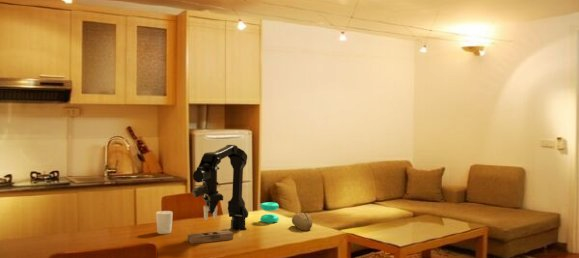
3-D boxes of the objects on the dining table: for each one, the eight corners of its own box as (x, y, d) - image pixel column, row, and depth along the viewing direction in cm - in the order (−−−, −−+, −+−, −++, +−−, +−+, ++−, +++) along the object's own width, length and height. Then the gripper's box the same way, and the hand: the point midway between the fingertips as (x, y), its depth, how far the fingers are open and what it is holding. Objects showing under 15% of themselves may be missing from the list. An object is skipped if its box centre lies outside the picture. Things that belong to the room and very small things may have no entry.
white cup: (168, 234, 246) (168, 214, 246) (153, 233, 248) (153, 213, 247) (175, 231, 254) (175, 211, 253) (160, 230, 255) (160, 210, 255)
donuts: (279, 205, 274) (261, 205, 273) (279, 223, 274) (260, 223, 273) (277, 201, 284) (260, 201, 283) (277, 219, 284) (259, 219, 283)
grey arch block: (203, 218, 236) (203, 205, 236) (215, 217, 239) (215, 205, 238) (205, 219, 234) (205, 206, 234) (217, 218, 237) (217, 205, 236)
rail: (187, 240, 235) (187, 234, 235) (228, 236, 244) (228, 230, 244) (191, 243, 229) (191, 237, 229) (233, 239, 238) (233, 232, 238)
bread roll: (304, 224, 272) (304, 209, 272) (316, 230, 258) (316, 215, 258) (288, 226, 268) (288, 210, 268) (299, 232, 255) (299, 216, 254)
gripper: (188, 178, 240) (188, 211, 241) (199, 183, 224) (199, 218, 224) (211, 177, 245) (210, 209, 246) (223, 182, 229) (223, 216, 229)
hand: (210, 213), depth 236 cm, fingers closed on grey arch block, 2 cm apart
